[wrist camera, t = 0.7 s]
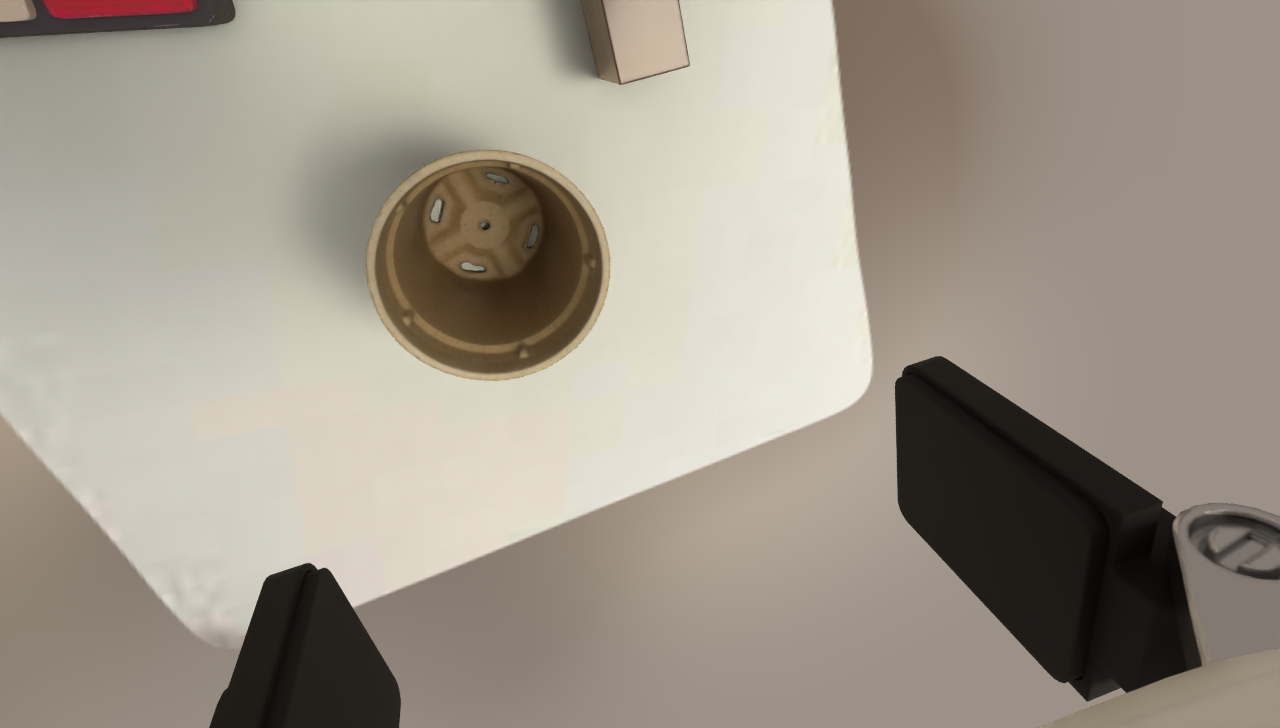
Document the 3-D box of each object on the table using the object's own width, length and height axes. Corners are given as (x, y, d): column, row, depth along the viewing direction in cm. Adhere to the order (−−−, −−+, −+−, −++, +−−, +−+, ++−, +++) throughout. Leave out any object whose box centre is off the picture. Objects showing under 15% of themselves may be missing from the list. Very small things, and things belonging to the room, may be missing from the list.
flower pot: (362, 134, 31) (334, 167, 23) (564, 112, 33) (598, 137, 25) (409, 321, 35) (398, 399, 28) (585, 293, 37) (620, 359, 29)
